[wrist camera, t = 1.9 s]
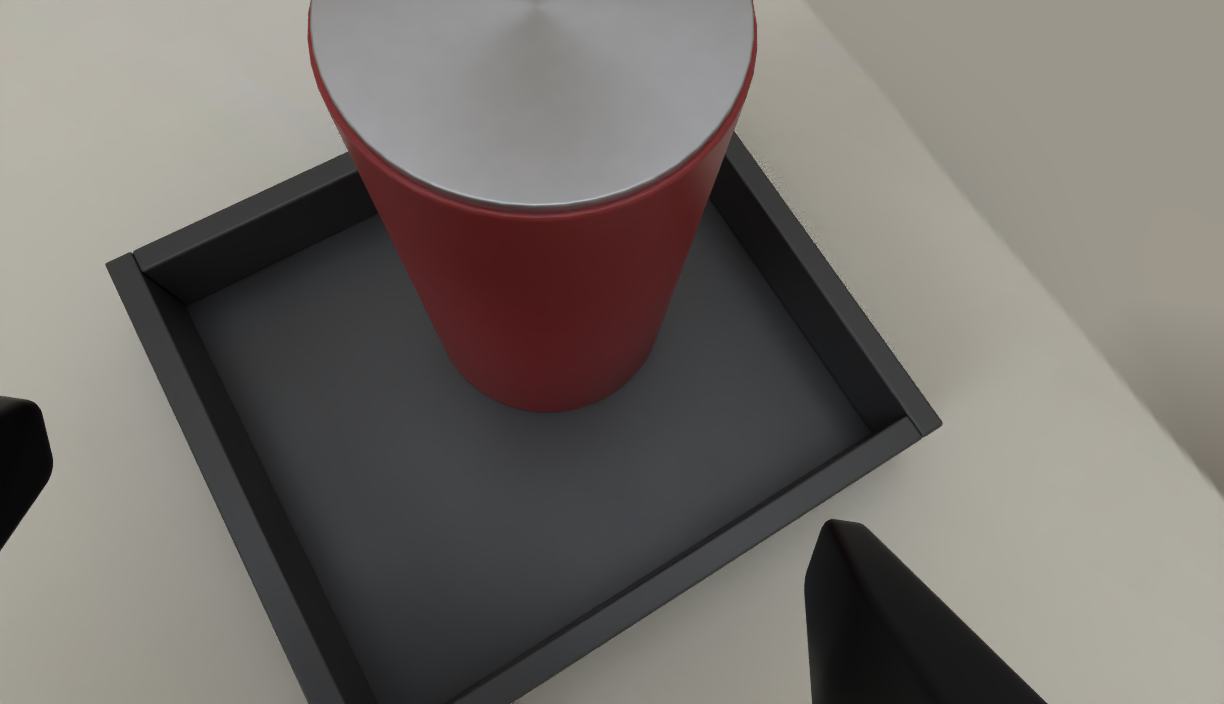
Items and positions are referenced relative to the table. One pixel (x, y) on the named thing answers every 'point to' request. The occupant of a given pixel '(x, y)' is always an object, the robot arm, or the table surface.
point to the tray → (496, 437)
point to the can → (538, 168)
